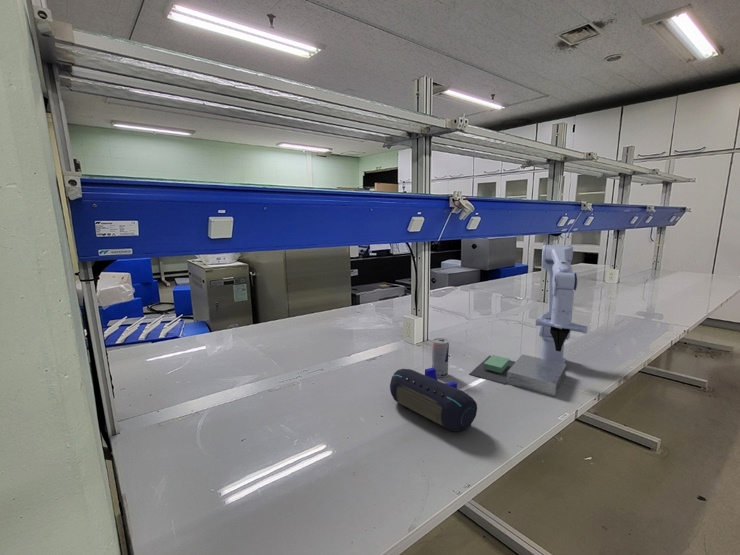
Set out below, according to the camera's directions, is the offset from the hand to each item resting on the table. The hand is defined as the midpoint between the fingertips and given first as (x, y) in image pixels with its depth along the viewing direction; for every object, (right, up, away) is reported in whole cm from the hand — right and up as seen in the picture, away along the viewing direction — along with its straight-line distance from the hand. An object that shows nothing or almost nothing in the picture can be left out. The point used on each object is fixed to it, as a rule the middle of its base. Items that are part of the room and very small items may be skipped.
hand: (558, 350), depth 113 cm
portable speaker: (-45, -14, -19) cm, 51 cm away
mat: (-17, -9, +9) cm, 21 cm away
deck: (-6, -10, +2) cm, 12 cm away
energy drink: (-38, -10, +5) cm, 39 cm away
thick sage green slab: (-17, -6, +9) cm, 20 cm away
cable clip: (-39, -12, -7) cm, 42 cm away
